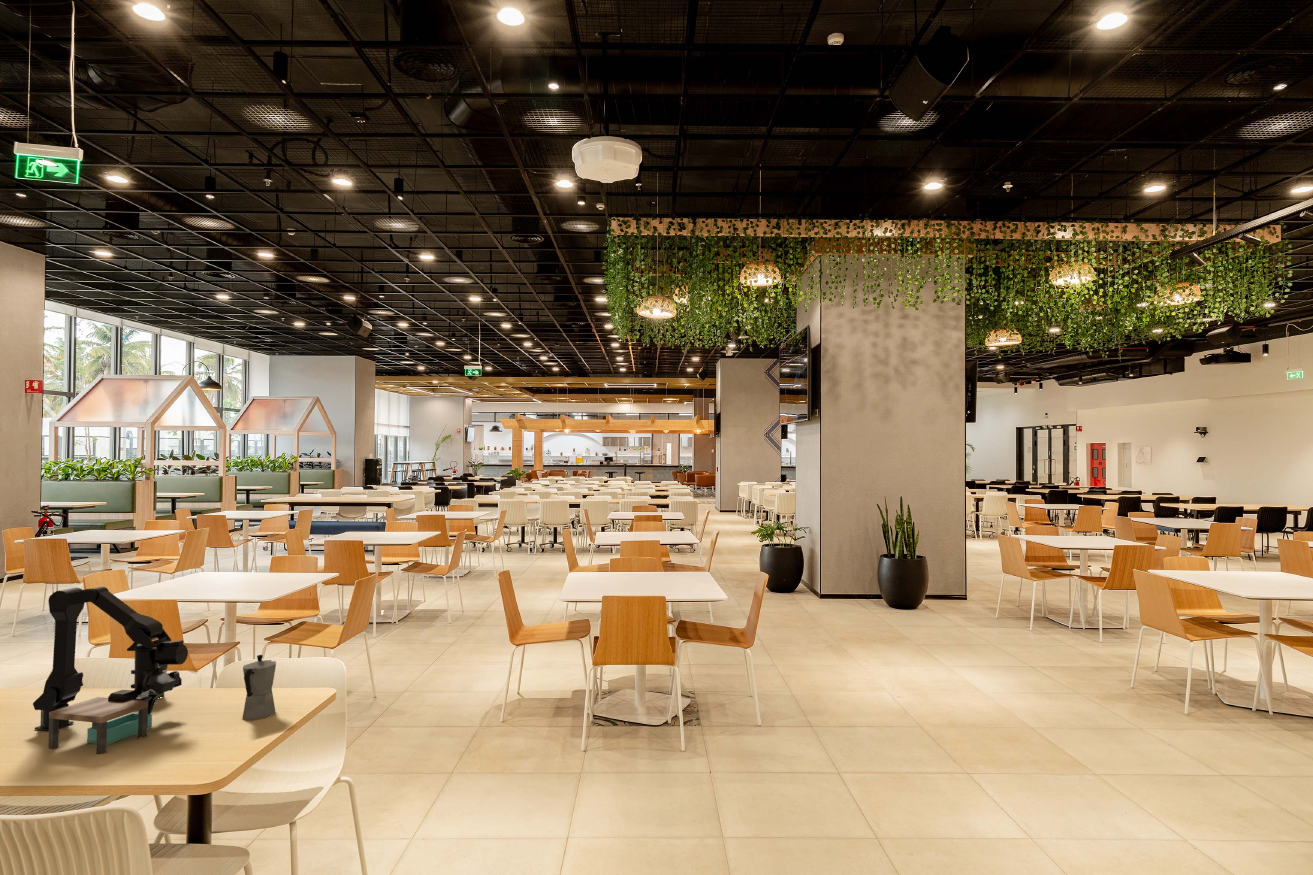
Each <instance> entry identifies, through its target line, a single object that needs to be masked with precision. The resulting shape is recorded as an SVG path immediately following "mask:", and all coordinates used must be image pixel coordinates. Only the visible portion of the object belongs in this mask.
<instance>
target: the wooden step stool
mask: <svg viewBox="0 0 1313 875" xmlns="http://www.w3.org/2000/svg"><path fill="white" fill-rule="evenodd" d="M138 710H139V711H138ZM136 712H137V713H138V733H137V738H139V739H143V738H146V737H148V730H149V729H148V701H140V700H129V701H126V702H114V701H108V697H100V696H96V697H94V698H90V699H88V700H84V701H80V702H77V703H74V704H71V705H69V706H67V707H64V708H61V709H58V710H55V711H51V712H49V731H48V742H47V744H48V746H47V748H48V749H49V750H55V749H57V748H59V746H60V745H59V742H60V741H59V738H60V737H59V736H60V728H59V719H62V720H69V721H73V722H84V723H91V727H94V726H96V725H97V742H96V743H95V744H96V745H95V746H96V748H95V749H96V750H95V751H96V752H95V753H96V755H102V754H106V753H107V722H108V721H111V720H113V719H116V718H119V717H122V716H125V715H127V714H130V713H136Z"/></svg>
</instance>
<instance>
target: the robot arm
mask: <svg viewBox="0 0 1313 875" xmlns="http://www.w3.org/2000/svg"><path fill="white" fill-rule="evenodd" d="M85 603H91V604H93V605H94V606H95V607H97V608H98V609H100V610H101V611H102V612H104V614H106V615H107V616H109V617H110V618H111V619H113V620H114V621H116V622H117V623H118V624H120V625H121V626H122V627H123V628H124V631H125V634H126V635H127V636H128V639H130V640H131V641H132V642H133V643H132V644H131V645H129V647H128V648H126V651H127V652H134V669H131V670H130V675H134V677H133V678H134V680H133V682H134V683H131V684H130V689H131V690H130V689H119V690H118V691H114V692H111V693H110V694H109V695H108V697H107V698H108V701H114V702H126V701H129V700H140V701H148V714H152V712H153V711H152V710H153V708H154V706H155V705H156V702H157V701H158V700H157V698H158V697H159V696H161V695H162V694H164V695H165V693H167V692H169V691H170V692H171V691H173V690H174V689H175V688H177V687H180V686H182V685H183V684H182V678H181V676H180V672H179V671H177V670H174V671H171V672H169V673H168V672H167V674H164V673H163V669H162V667H158V665H168V666H173V665H176V666H177V665H183V664H184V663H185V662H186V661H187V658H188V656H189V650H188V648H187V645H186V644H184V640H183V639H182V640H181V639H179V640H172V638H171V637H170V636H169V635H168V633H167V632H166V631H165V629H164V628H163V627H164V625H163V624H162V622H160V620H157V619H156V618H154V617H151V616H148V615H145V614H141V613H139V612H137V611H136V610H135V609H134V608H132V607H131V606H130V605H128V604H126V603H125V602H124V601H122V600H121V599H120V598H119V597H117V596H116V595H114V594H113V593H112V592H111V591H109V589H108V588H107V586H98V587H93V588H84V589H83V588H80V587H77V586H76V587H69V588H65V589H60V590H56V591H54V592H53V593H52V594H51V595H49V596H48V610H49V614H50V615H51V617H52V618H53V619H54V622H55V623H54V638H53V652H52V653H53V656H52V658H53V659H52V670H51V672H50V674H49V676H48V677H47V679H46V680H45V683H44V688H43V692H42V694H41V695H40V696H38V698H37V699H35V700H34V701H33V703H32V705H33V708H34V711H40V725H39V726H35V727H34V730H37V731H38V730H39V731H48V732H49V712H51V711H55V710H58V709H61V708H64V707H67V706H70V704H69V703H70V702H73V701H75V700H76V696H77V694H79V693H80V691H81V690H82V689H81V687H83V686H84V683H83V678H84V672H78V671H77V669H76V668H75V662H76V642H77V630H78V629H77V626H78V618H79V617H80V615H81V613H82V612H83V609H84V607H85ZM141 690H143V691H141ZM137 712H139V710H138V711H137ZM74 722H75V721H73V720H62V719H59V729H61V728H64V727H66V726H67V727H68V726H70V725H73V724H75V723H74Z"/></svg>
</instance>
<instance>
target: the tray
mask: <svg viewBox="0 0 1313 875" xmlns="http://www.w3.org/2000/svg"><path fill="white" fill-rule="evenodd" d="M138 713H139V712H132V713H129V714H126V715H124V716H121V717H118V718H115V719H112V720H109V721H107V745H110V744H112V743H115V742H118V741H121V740H122V739H126V738H129V737H131V736H133V735H136V734H138ZM150 727H152V728H153V714H152V713H151V714H148V729H147V730H150V729H151V728H150ZM86 734H87V735H86V736H87V737H86V738H87V740H86V742H87V743H88V744H96V742H97V725H96V726H94V727H92V726H91V727H88V728H87V733H86Z"/></svg>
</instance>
